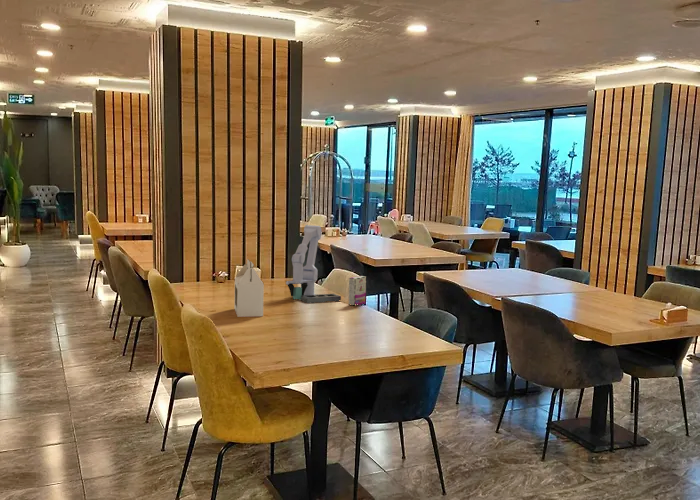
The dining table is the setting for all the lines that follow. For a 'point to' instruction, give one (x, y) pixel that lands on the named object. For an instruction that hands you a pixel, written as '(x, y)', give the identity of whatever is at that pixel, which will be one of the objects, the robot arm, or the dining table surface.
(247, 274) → the gable box
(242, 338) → the dining table surface
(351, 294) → the candy bar box
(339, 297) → the rail
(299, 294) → the square peg
